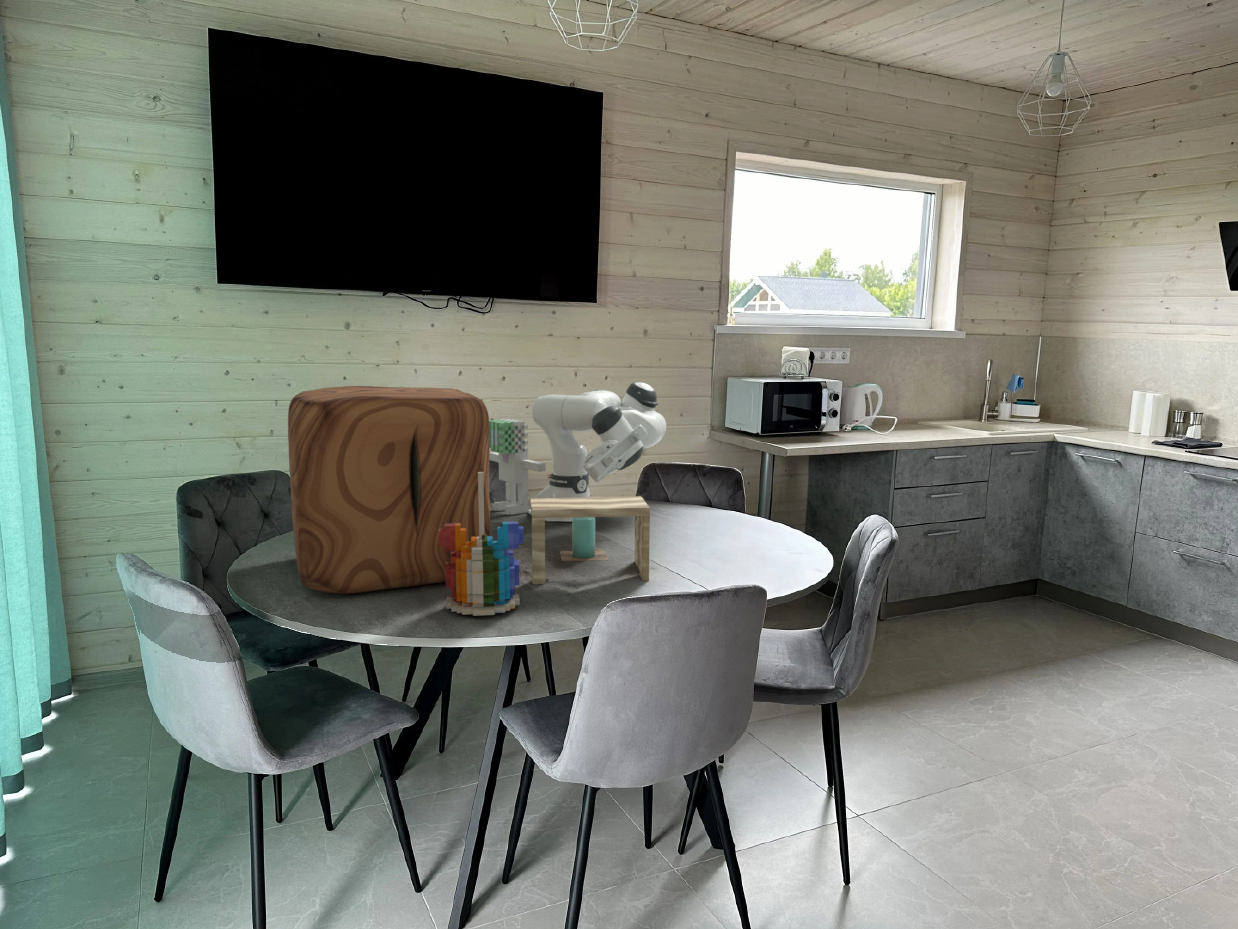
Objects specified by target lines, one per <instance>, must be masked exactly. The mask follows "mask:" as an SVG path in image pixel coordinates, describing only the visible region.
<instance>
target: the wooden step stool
mask: <svg viewBox="0 0 1238 929" xmlns="http://www.w3.org/2000/svg"><path fill="white" fill-rule="evenodd" d="M529 501H530V509H531V514H532V515H531V514H530V515H531V575H532V576H531V578H532V579H531V582H532V583H531V584H532V585H545V584H546V521H545V518H572V517H595V518H607V517H610V518H612V517H613V518H614V517H616V518H617V517H634V563H635V565H636V567H637V569H638V571H637V573H638V572H639V573H638V574H640V575H639V576H640V578H641V580H642V581H643V582H646V581H647V582H648V581H650V538H651V536H650V534H651V532H650V531H651V530H650V528H651V527H650V526H651V525H650V524H651V521H650V520H651V517H650V516H651V508H650V505H648V504H647V502H646V501H645V499H644V498H643V497H642V496H641V495H639V496H590V497H572V498H536V497H531V498H530V499H529Z"/></svg>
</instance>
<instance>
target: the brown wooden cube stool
mask: <svg viewBox="0 0 1238 929" xmlns="http://www.w3.org/2000/svg"><path fill="white" fill-rule="evenodd" d="M489 420H490V418H489V412H488V409H487V407H486V405H485V402H484V401H483V400H482V399H480V398H479V397H477V396H475V395H473V394H472V393H470V392H469V393H468V392H464V391H462V390H460V389H458V388H450V387H449V388H448V387H409V386H408V387H401V386H400V387H398V386H397V387H395V386H394V387H392V386H390V387H389V386H372V385H371V386H369V385H348V386H347V385H346V386H334V387H333V386H332V387H322V388H317V389H310V390H305V391H301V392H298V394H296V395H295V396H293V397H292V398H291V400H290V402H289V406H288V415H287V437H288V438H287V440H288V441H287V442H288V443H287V445H288V461H289V462H288V464H289V466H288V467H289V482H290V483H289V484H290V499H291V500H290V501H291V504H290V505H291V517H292V518H291V519H292V531H293V540H294V541H293V543H294V550H295V558H296V564H297V570H298V575H299V579H300V580H299V581H301V584H302V586H303V587H304V588H306V589H307V588H308V589H310V590H313V591H316V592H322V593H330V594H339V595H341V594H342V595H343V594H344V595H346V594H348V595H349V594H358V593H367V592H374V591H380V590H391V589H397V588H398V589H400V588H409V587H415V586H423V585H424V586H425V585H431V584H433V585H434V584H441V583H446V573H445V567H446V563H448V562H451V559H450V557H451V552H456V551H447V552H445V546H444V547H440V542H439V529H445V528H444V525H445V524H449V523H461V528H466V542H471V537H478V536H479V500H478V472H483V481H484V535H485V536H491V499H490V461H491V460H490V453H491V448H490V444H489Z"/></svg>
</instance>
